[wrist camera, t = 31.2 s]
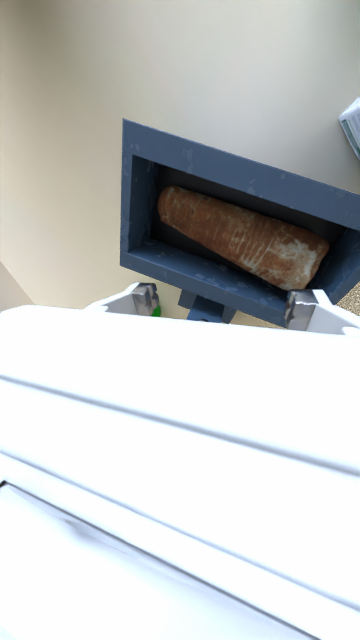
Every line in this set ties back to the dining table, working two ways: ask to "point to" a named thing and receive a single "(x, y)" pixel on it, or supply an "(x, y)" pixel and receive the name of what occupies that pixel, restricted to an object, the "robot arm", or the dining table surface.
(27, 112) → the dining table surface
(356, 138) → the syrup box
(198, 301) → the lever bracket
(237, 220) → the bread
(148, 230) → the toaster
